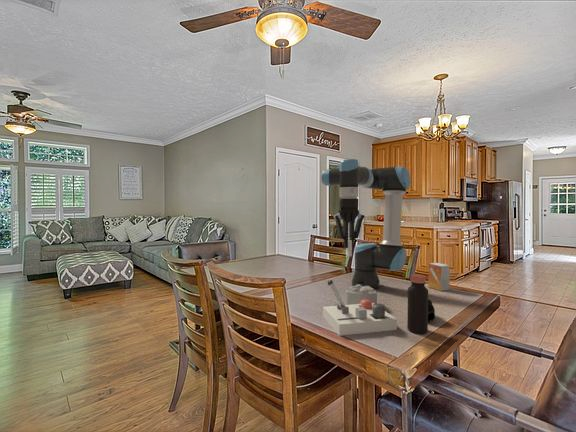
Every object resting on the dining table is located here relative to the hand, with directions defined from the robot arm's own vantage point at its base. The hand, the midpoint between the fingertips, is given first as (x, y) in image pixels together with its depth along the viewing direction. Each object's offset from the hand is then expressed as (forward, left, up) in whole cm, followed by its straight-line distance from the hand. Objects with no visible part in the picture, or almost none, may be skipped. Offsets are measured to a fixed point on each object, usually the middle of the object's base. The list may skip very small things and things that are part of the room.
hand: (348, 255), depth 124 cm
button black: (-6, +14, -22) cm, 27 cm away
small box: (-61, -24, -25) cm, 70 cm away
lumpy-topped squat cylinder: (-9, -8, -25) cm, 28 cm away
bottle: (-18, +20, -25) cm, 36 cm away
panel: (0, +9, -24) cm, 26 cm away
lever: (+5, +6, -19) cm, 20 cm away
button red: (-6, +4, -24) cm, 25 cm away
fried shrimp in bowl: (-28, +7, -25) cm, 38 cm away
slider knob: (+1, +14, -20) cm, 25 cm away
